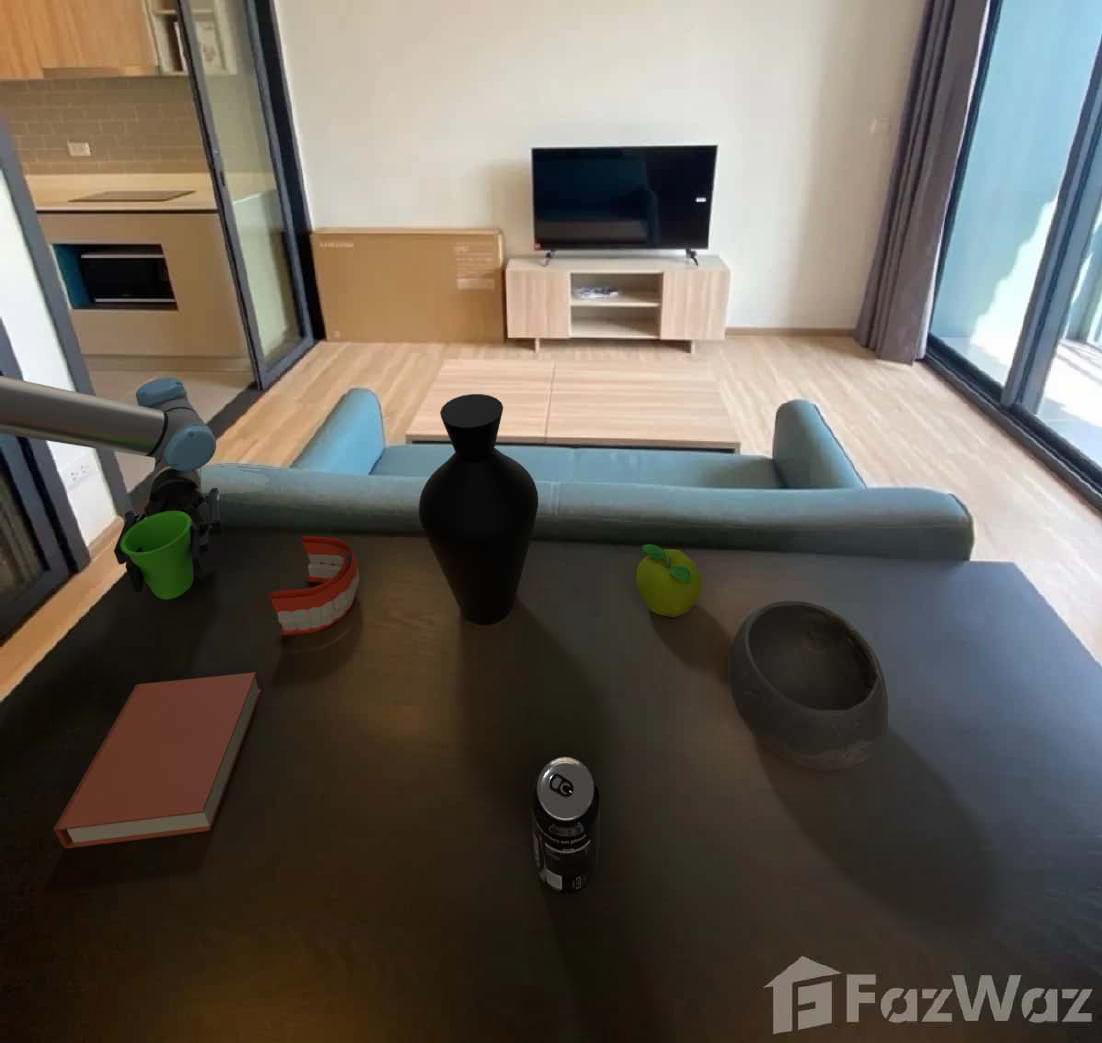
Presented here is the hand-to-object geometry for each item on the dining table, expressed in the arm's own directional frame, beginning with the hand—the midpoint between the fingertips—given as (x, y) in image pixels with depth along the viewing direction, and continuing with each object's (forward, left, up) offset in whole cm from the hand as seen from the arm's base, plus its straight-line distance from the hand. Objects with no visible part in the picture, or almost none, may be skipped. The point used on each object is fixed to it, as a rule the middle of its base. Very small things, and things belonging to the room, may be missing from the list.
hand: (167, 574), depth 86 cm
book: (+11, -19, -10) cm, 24 cm away
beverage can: (+59, -27, -10) cm, 65 cm away
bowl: (+88, -12, -10) cm, 89 cm away
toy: (+21, +4, -10) cm, 23 cm away
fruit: (+74, +5, -10) cm, 74 cm away
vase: (+46, +5, -10) cm, 47 cm away
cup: (-3, +4, -7) cm, 8 cm away
